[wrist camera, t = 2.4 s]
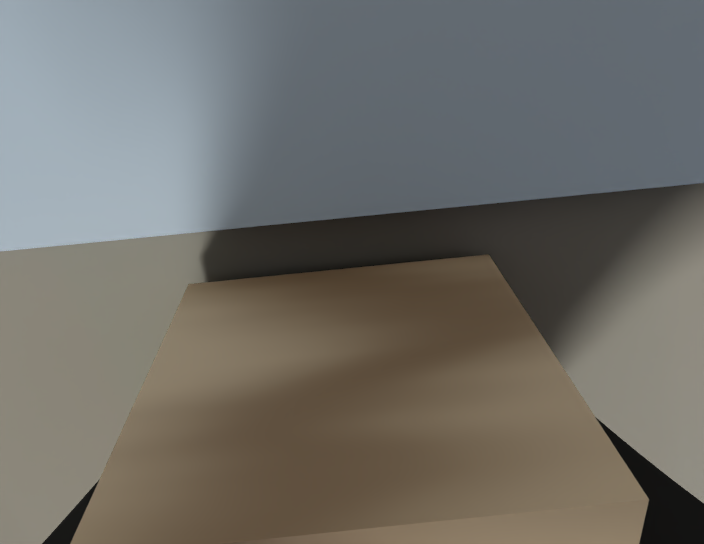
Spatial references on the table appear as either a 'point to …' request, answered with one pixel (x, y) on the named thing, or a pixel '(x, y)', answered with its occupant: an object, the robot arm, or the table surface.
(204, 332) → the oak cube
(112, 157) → the board
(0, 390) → the table surface
